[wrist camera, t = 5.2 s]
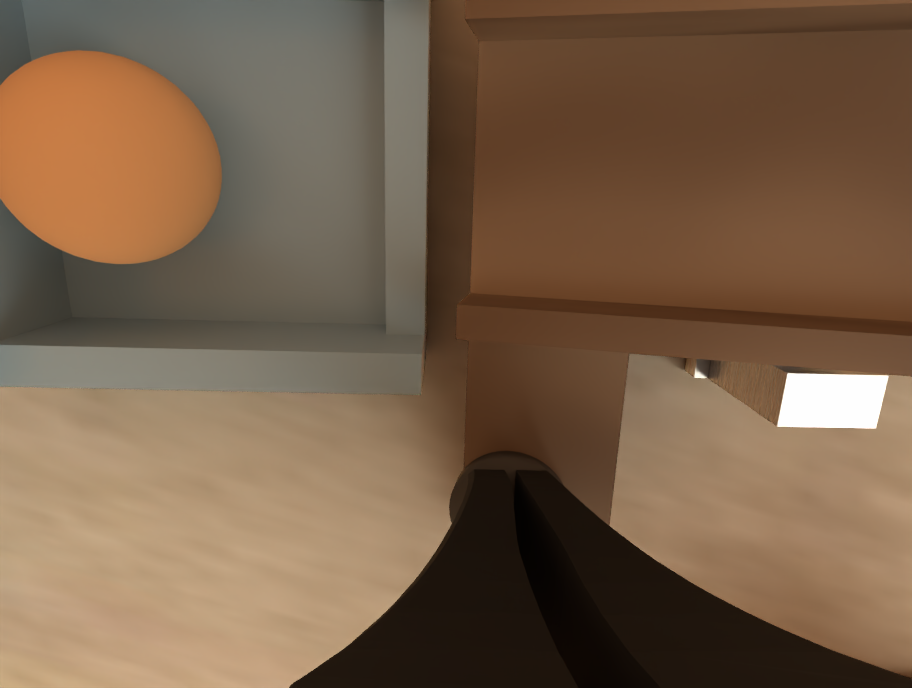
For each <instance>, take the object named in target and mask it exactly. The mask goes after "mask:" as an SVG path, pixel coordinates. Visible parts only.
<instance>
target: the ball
mask: <svg viewBox="0 0 912 688" xmlns="http://www.w3.org/2000/svg"><path fill="white" fill-rule="evenodd" d="M221 184H222V167H221V159H220V154H219V150H218V146H217V143H216V141H215V138H214V135H213V133H212V131H211V129H210V127H209V125H208V123H207V122H206V120H205V119H204V117H203V116H202V114H201V112H200V111H199V109H198V108H197V107H196V106H195V104H194V103H193V102H192V101H191V100H190V99H189V98H188V97H187V96H186V95H185V94H184V93H183V92H182V91H181V90H180V89H179V88H178V87H177V86H176V85H175V84H173V83H172V82H171V81H169V80H168V79H167V78H165V77H164V76H162V75H161V74H159V73H158V72H156V71H154V70H152V69H150V68H149V67H147V66H145V65H143V64H140V63H138V62H136V61H133V60H130V59H128V58H125V57H122V56H118V55H113V54H109V53H105V52H99V51H82V50H75V51H65V52H58V53H53V54H49V55H46V56H43V57H40V58H38V59H35V60H33V61H31V62H29V63H27V64H25V65H23V66H22V67H21V68H19V69H18V70H16V71H15V72H14V73H12V74H11V75H9V76H8V77H7V78H6V79H5V80H4V82H3V83H2V84H1V85H0V199H1V200H2V201H3V203H4V204H5V206H6V207H7V208H8V209H9V210H10V212H11V213H12V214H13V215H14V216H15V217H16V218H17V219H18V220H19V221H20V222H21V223H22V224H23V225H24V226H25V227H26V228H27V229H28V230H30V231H31V232H32V233H34V234H35V235H36V236H38V237H39V238H41V239H42V240H44V241H45V242H47V243H49V244H50V245H52V246H54V247H56V248H58V249H60V250H62V251H64V252H67V253H69V254H72V255H74V256H77V257H81V258H84V259H88V260H92V261H95V262H103V263H111V264H134V263H142V262H148V261H152V260H156V259H159V258H162V257H165V256H167V255H169V254H172V253H174V252H175V251H177V250H179V249H181V248H183V247H184V246H185V245H187V244H188V243H189V242H191V241H192V240H193V239H194V238H196V236H197V235H198V234H199V233H200V232H201V231H202V230H203V229H204V227H205V226H206V225H207V223H208V222H209V220H210V219H211V217H212V215H213V213H214V211H215V209H216V206H217V203H218V200H219V196H220V192H221Z"/></svg>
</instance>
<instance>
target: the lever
mask: <svg viewBox="0 0 912 688" xmlns="http://www.w3.org/2000/svg"><path fill="white" fill-rule="evenodd" d="M465 20H466V21H467V23H468V25H469V26H470V28H471V29H472V31H473V33H474V34H475V36H476V37H477V39H478V41H479V54H478V82H477V111H476V139H475V167H474V196H473V224H472V252H471V280H470V294H469V295H467V296H466V297H465V298H464V299H463V300H462V301H460V302H459V303H458V304H457V316H456V339H461V340H468V365H467V394H466V422H465V450H464V470H463V471H462V472H461V474H460V476H459V477H458V479H457V482H456V484H455V486H454V489H453V491H452V494H451V498H450V505H449V510H450V518H451V522H452V523H453V521H454V519H455V517H456V515H457V512H458V510H459V508H460V506H461V503H462V501H463V498H464V495H465V492H466V489H467V485H468V474H469V473H470V472H471V471H473V470H474V469H490V470H505V472H506V473H507V475H508V477H509V479H510V482H511V486H512V495H513V504H514V491H515V475H516V470H536V471H541V470H547V471H548V472H549V473H550V474H551V475H553V476H554V477H555V478H556V479H557V480H558V481H559V482H560V483H561V484H562V485H563V486H565V487H566V488H567V489H568V490H569V491H570V492H571V493H572V494H573V495H574V496H575V497H576V498H578V499H579V500H580V501H581V502H582V503H583V504H584V505H585V506H586V507H588V508H589V509H590V510H591V511H592V512H593V513H595V514H596V515H597V516H598V517H599V518H600V519H602V520H603V521H604V522H605V523H606V524H608V525H609V523H610V515H611V506H612V497H613V489H614V480H615V471H616V463H617V454H618V445H619V437H620V428H621V420H622V411H623V402H624V394H625V385H626V376H627V368H628V359H629V353H633V354H645V355H657V356H670V357H682V358H694V359H706V360H718V361H731V362H743V363H755V364H767V365H780V366H792V367H804V368H816V369H829V370H841V371H853V372H865V373H878V374H890V375H902V376H912V0H466V6H465Z"/></svg>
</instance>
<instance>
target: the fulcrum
mask: <svg viewBox="0 0 912 688" xmlns="http://www.w3.org/2000/svg"><path fill="white" fill-rule="evenodd" d="M685 371H686V372H687V373H688V374H690V375H691V376H693V377H694V378H708V379H709V380H711V381H712V382H714V383H715V384H717V385H718V386H720V387H721V388H722V389H724V390H725V391H727V392H728V393H730V394H731V395H733V396H734V397H735V398H737V399H738V400H740V401H741V402H743V403H744V404H745V405H747V406H748V407H750V408H751V409H753V410H754V411H756V412H757V413H758V414H760V415H761V416H763V417H764V418H766V419H767V420H768V421H770V422H771V423H773V424H774V425H776V426H777V427H828V428H876V425H877V421H878V417H879V413H880V409H881V405H882V401H883V397H884V393H885V389H886V385H887V381H888V377H889V375H886V374H878V373H865V372H853V371H841V370H829V369H816V368H804V367H792V366H780V365H767V364H755V363H743V362H731V361H718V360H706V359H694V358H687V360H686V367H685Z"/></svg>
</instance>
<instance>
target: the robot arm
mask: <svg viewBox="0 0 912 688" xmlns="http://www.w3.org/2000/svg"><path fill="white" fill-rule="evenodd" d="M289 688H912V679H910V678H907V677H904V676H902V675H899V674H896V673H893V672H890V671H888V670H885V669H882V668H879V667H877V666H874V665H871V664H868V663H865V662H863V661H860V660H857V659H854V658H851V657H849V656H846V655H843V654H840V653H838V652H835V651H832V650H830V649H827V648H825V647H823V646H820V645H818V644H816V643H813V642H811V641H809V640H806V639H804V638H802V637H799V636H797V635H795V634H792V633H790V632H788V631H785V630H783V629H781V628H778V627H776V626H774V625H772V624H770V623H768V622H765V621H763V620H761V619H759V618H757V617H755V616H753V615H751V614H749V613H747V612H745V611H743V610H741V609H739V608H737V607H735V606H733V605H731V604H729V603H727V602H725V601H724V600H722V599H720V598H718V597H716V596H714V595H712V594H710V593H708V592H707V591H705V590H703V589H701V588H700V587H698V586H696V585H694V584H693V583H691V582H689V581H687V580H686V579H684V578H683V577H681V576H680V575H678V574H676V573H675V572H673V571H672V570H670V569H668V568H667V567H665V566H664V565H662V564H661V563H659V562H657V561H656V560H654V559H653V558H652V557H650V556H649V555H647V554H646V553H644V552H643V551H641V550H640V549H639V548H637V547H636V546H635V545H633V544H632V543H631V542H629V541H628V540H627V539H626V538H624V537H623V536H622V535H620V534H619V533H618V532H616V531H615V530H614V529H613V528H611V527H610V526H609V525H608V524H606V523H605V522H604V521H603V520H602V519H600V518H599V517H598V516H597V515H596V514H595V513H593V512H592V511H591V510H590V509H589V508H588V507H586V506H585V505H584V504H583V503H582V502H581V501H580V500H579V499H578V498H576V497H575V496H574V495H573V494H572V493H571V492H570V491H569V490H568V489H567V488H566V487H565V486H563V485H562V484H561V483H560V482H559V481H558V480H557V479H556V478H555V477H554V476H553V475H551V474H550V473H549V472H548V471H547V470H541V471H536V470H516V475H515V491H514V504H513V495H512V486H511V482H510V479H509V477H508V475H507V473H506V472H505V470H490V469H474V470H473V471H471V472H470V473H469V474H468V485H467V489H466V492H465V495H464V498H463V501H462V503H461V506H460V508H459V510H458V512H457V515H456V517H455V519H454V521H453V523H452V525H451V527H450V529H449V530H448V532H447V534H446V535H445V537H444V539H443V541H442V542H441V544H440V546H439V547H438V549H437V551H436V552H435V554H434V555H433V557H432V558H431V559H430V561H429V562H428V564H427V565H426V566H425V568H424V569H423V570H422V572H421V573H420V574H419V576H418V577H417V578H416V579H415V581H414V582H413V583H412V584H411V585H410V586H409V587H408V589H407V590H406V591H405V592H404V593H403V594H402V595H401V597H400V598H399V599H398V600H397V601H396V602H395V603H394V604H393V605H392V606H391V607H390V608H389V609H388V610H387V611H386V612H385V613H384V614H383V615H382V616H381V617H380V618H379V619H378V620H377V621H375V622H374V623H373V624H372V625H371V626H370V627H369V628H368V629H366V630H365V631H364V632H363V633H362V634H361V635H360V636H359V637H357V638H356V639H355V640H354V641H353V642H352V643H351V644H349V645H348V646H347V647H346V648H344V649H343V650H342V651H340V652H339V653H337V654H336V655H334V656H333V657H332V658H330V659H329V660H327V661H326V662H324V663H323V664H321V665H320V666H318V667H317V668H316V669H314V670H313V671H311V672H310V673H308V674H307V675H305V676H304V677H302V678H300V679H299V680H297V681H296V682H294V683H293V684H292V685H291V686H290V687H289Z"/></svg>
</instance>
